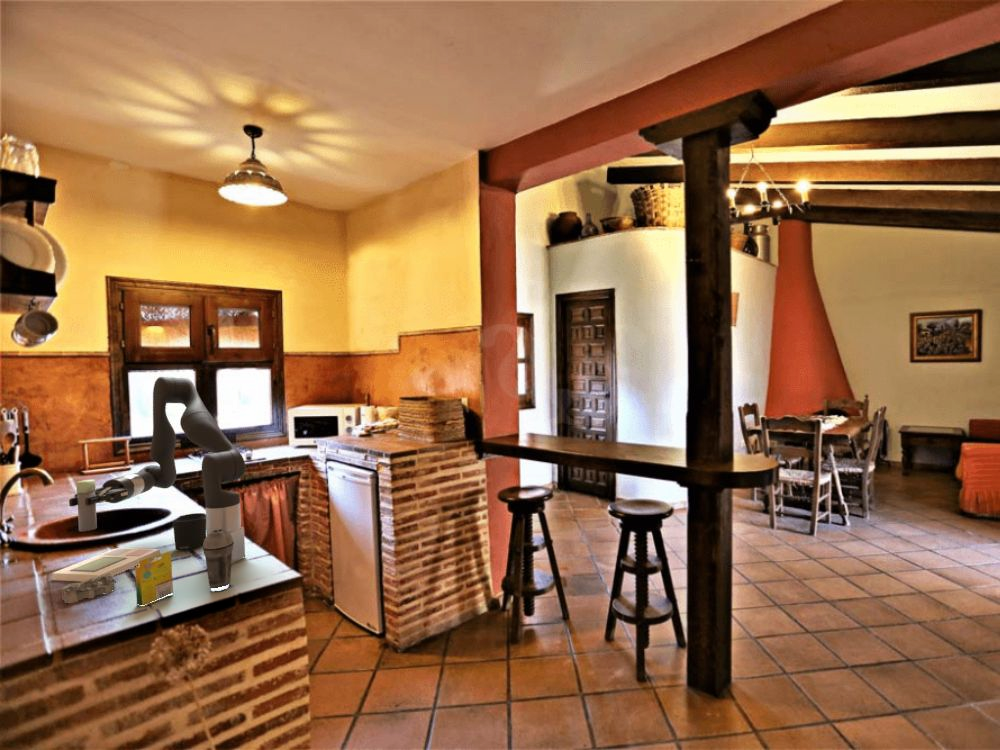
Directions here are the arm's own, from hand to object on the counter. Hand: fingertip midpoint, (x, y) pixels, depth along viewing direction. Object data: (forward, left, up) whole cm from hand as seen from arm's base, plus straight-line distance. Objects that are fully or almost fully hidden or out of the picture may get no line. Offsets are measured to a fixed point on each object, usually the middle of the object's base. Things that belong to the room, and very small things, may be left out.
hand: (78, 502), depth 141 cm
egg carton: (-12, +8, -22) cm, 27 cm away
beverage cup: (-46, +1, -22) cm, 51 cm away
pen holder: (-12, -27, -22) cm, 36 cm away
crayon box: (-34, +9, -22) cm, 41 cm away
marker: (+1, -3, -8) cm, 9 cm away
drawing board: (0, -9, -22) cm, 23 cm away
